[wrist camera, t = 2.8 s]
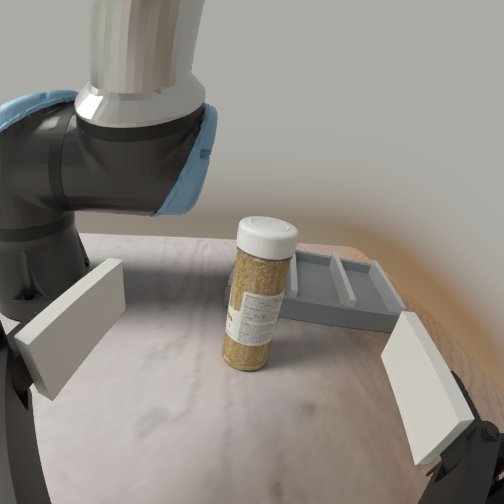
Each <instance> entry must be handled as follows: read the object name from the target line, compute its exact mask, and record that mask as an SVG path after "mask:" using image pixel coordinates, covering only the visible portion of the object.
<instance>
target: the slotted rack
mask: <svg viewBox="0 0 504 504" xmlns="http://www.w3.org/2000/svg"><path fill="white" fill-rule="evenodd" d="M235 265H236V261H235V263H234V266H233V268H232V271H231V273H230V276H229V280H228V284H227V285H226V289H225V296H224V304H223V306H224V307H229V300H230V293H231V287H232V283H233V277H234V270H235ZM406 309H407V308H406V306H405V304H404V303H403V301H402V300H401V298H400V296H399V295H398V293H397V292H396V290H395V288H394V287H393V285H392V284H391V282H390V281H389V279H388V278H387V276H386V275H385V273H384V272H383V270H382V269H381V267H380V266H379V264H378V263H377V261H374V260H372V262H371V264H367V263H362V262H357V261H351V260H346V259H341V258H339V256H338V254H337V253H334V252H333V253H332V256H325V255H320V254H315V253H310V252H304V251H299V250H295V254H294V255H293V258H292V260H291V261H290V266H289V270H288V274H287V279H286V283H285V291H284V295H283V299H282V303H281V307H280V311H279V315H278V317H282V318H288V319H294V320H300V321H307V322H313V323H320V324H326V325H333V326H340V327H348V328H355V329H363V330H371V331H380V332H389V333H392V332H393V330H394V328H395V326H396V323H397V321H398V319H399V317H400V314H401V312H402V311H406Z"/></svg>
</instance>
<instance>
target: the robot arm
mask: <svg viewBox="0 0 504 504" xmlns="http://www.w3.org/2000/svg"><path fill="white" fill-rule="evenodd" d="M204 1H205V0H91V11H90V29H89V30H90V31H89V66H90V67H89V68H90V80H89V82H88V83H87V84H86V85H85V87H84V88H83V89H82V90H81V91H80V93H77V92H76V91H72V90H52V91H48V92H43V93H34V94H29V95H25V96H22V97H19V98H16V99H13V100H11V101H8V102H6V103H4V104H3V105H1V106H0V312H1V313H2V314H3V315H5V316H7V317H9V318H12V319H15V320H20V321H22V322H21V323H19V324H18V325H17V326H16V327H15V328H14V329H13V330H12V331H11V332H9V333H8V334H7V335H6V334H5V331H4V329H3V326H2V323H1V320H0V504H51V501H50V498H49V494H48V491H47V487H46V483H45V479H44V475H43V471H42V466H41V462H40V457H39V451H38V446H37V439H36V433H35V425H34V416H33V406H32V393H31V390H30V388H29V387H30V386H31V385H32V383H34V385H35V387H36V389H37V391H38V393H40V394H42V395H43V396H45V397H47V398H48V399H50V400H52V401H53V400H54V399H55V398H56V396H57V395H58V393H59V392H60V391H61V389H62V388H63V387H64V386H65V384H66V383H67V382H68V380H69V379H70V378H71V376H72V375H73V374H74V372H75V371H76V370H77V369H78V367H79V366H80V365H81V364H82V362H83V361H84V360H85V358H86V357H87V356H88V355H89V353H90V352H91V351H92V350H93V349H94V347H95V346H96V345H97V344H98V342H99V341H100V340H101V339H102V337H103V336H104V335H105V334H106V333H107V331H108V330H109V329H110V328H111V327H112V325H113V324H114V323H115V322H116V321H117V320H118V318H119V317H120V316H121V315H122V314H123V312H124V311H125V310H126V307H125V295H124V280H123V261H122V260H118V259H113V258H108V259H107V260H105V261H104V262H103V263H101V264H100V265H99V266H97V267H96V268H95V269H93V270H92V268H91V264H90V261H89V259H88V257H87V254H86V251H85V249H84V247H83V244H82V242H81V239H80V237H79V234H78V232H77V229H76V226H75V215H74V211H82V212H99V213H114V214H128V215H142V216H151V217H156V216H159V215H160V216H166V215H167V216H168V215H170V216H171V215H172V216H174V215H175V216H176V215H177V216H179V215H184V214H186V213H188V212H189V211H190V210H191V209H192V208H193V207H194V206H195V204H196V202H197V200H198V198H199V195H200V193H201V190H202V187H203V184H204V180H205V177H206V173H207V169H208V165H209V155H210V154H211V150H212V147H213V144H214V139H215V133H216V127H217V111H216V109H215V108H214V107H213V106H210V105H209V104H206V103H204V99H205V89H204V87H203V85H202V84H201V83H200V82H199V81H198V79H197V78H196V77H195V76H194V75H193V74H192V73H191V69H192V63H193V57H194V51H195V46H196V40H197V35H198V29H199V24H200V19H201V14H202V9H203V5H204ZM381 358H382V360H383V363H384V366H385V369H386V371H387V374H388V377H389V380H390V383H391V386H392V389H393V392H394V395H395V398H396V401H397V404H398V407H399V410H400V414H401V417H402V420H403V423H404V427H405V430H406V434H407V437H408V441H409V444H410V448H411V452H412V455H413V459H414V463H415V466H417V465H422V464H427V463H431V462H432V461H433V460H434V459H436V458H437V457H438V456H439V455H440V456H441V459H442V461H440V462H439V463H438V464H437V465H436V466H435V467H433V468H432V469H431V470H430V471H429V472H428V473H427V474H426V476H429V475H430V474H431V473H432V472H434V473H433V475H432V477H431V479H430V481H429V483H428V485H427V487H426V489H425V491H424V493H423V495H422V497H421V499H420V501H419V502H418V504H504V477H503V478H502V479H501V480H499V475H500V474H501V473H502V472H503V471H504V433H500V432H499V430H498V428H497V427H496V426H495V425H494V424H493V423H491V422H488V421H482V420H481V418H480V416H479V414H478V412H477V410H476V408H475V406H474V404H473V402H472V400H471V398H470V396H468V395H469V394H468V392H467V390H466V389H465V387H464V385H463V383H462V381H461V379H460V378H459V377H458V376H457V375H456V374H455V373H454V372H453V371H450V370H449V368H448V366H447V365H446V363H445V361H444V359H443V358H442V356H441V354H440V352H439V351H438V349H437V347H436V346H435V344H434V342H433V341H432V339H431V337H430V336H429V334H428V332H427V331H426V329H425V328H424V326H423V324H422V323H421V321H420V320H419V318H418V317H417V315H416V314H415V313H414V312H406V311H402V312H401V314H400V317H399V319H398V321H397V323H396V326H395V328H394V330H393V332H392V334H391V336H390V338H389V340H388V342H387V344H386V346H385V348H384V350H383V352H382V354H381Z"/></svg>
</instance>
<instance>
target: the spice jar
mask: <svg viewBox="0 0 504 504" xmlns="http://www.w3.org/2000/svg"><path fill="white" fill-rule="evenodd" d="M298 234H299V233H298V230H297V229H296V228H295V227H294V226H293V225H291V224H289V223H288V222H285V221H282V220H279V219H275V218H270V217H263V216H252V217H246V218H244V219H242V220H241V221H240V223H239V228H238V234H237V241H236V243H237V250H238V252H237V257H236V265H235V270H234V277H233V283H232V287H231V293H230V300H229V307H228V313H227V321H226V333H225V341H224V345H223V347H222V355H223V358H224V360H225V361H226V362H227V363H228V364H229V365H230V366H232V367H234V368H236V369H239V370H248V371H251V370H256V369H259V368H261V367H262V366H263V365H264V364H265V363H266V361H267V358H268V349H269V345H270V342H271V339H272V337H273V334H274V330H275V326H276V322H277V319H278V315H279V311H280V307H281V303H282V299H283V295H284V291H285V283H286V279H287V274H288V270H289V266H290V261H291V260H292V258H293V255H294V254H295V250H296V246H297V241H298V236H299V235H298Z"/></svg>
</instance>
